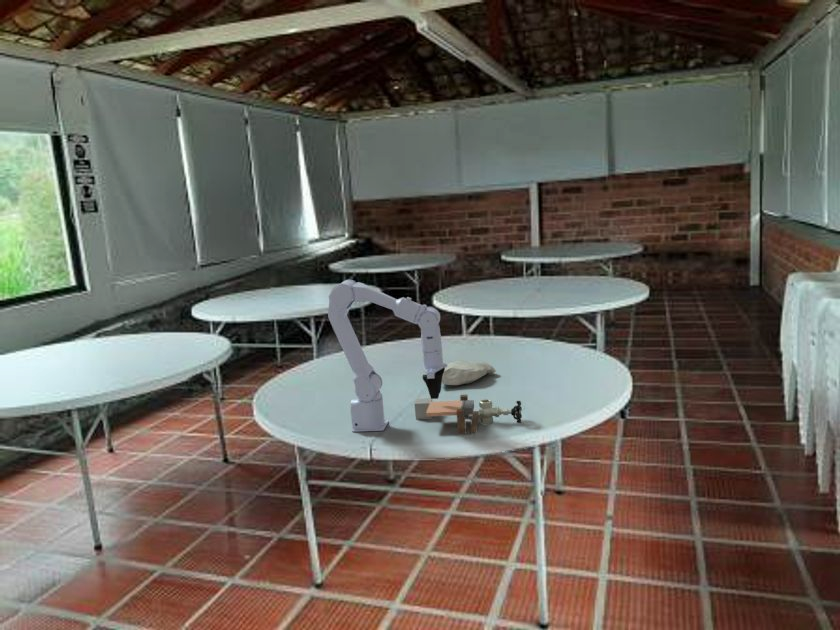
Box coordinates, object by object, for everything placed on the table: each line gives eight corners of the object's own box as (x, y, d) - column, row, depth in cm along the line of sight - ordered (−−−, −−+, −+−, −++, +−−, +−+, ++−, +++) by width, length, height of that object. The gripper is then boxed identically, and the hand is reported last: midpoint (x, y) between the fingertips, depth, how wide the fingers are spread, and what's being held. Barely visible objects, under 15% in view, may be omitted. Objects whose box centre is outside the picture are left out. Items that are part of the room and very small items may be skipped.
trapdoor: (426, 418, 187) (425, 411, 186) (430, 406, 196) (430, 400, 196) (472, 416, 185) (471, 409, 184) (474, 404, 194) (473, 398, 194)
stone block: (415, 419, 198) (414, 403, 197) (418, 414, 203) (416, 398, 202) (431, 419, 198) (430, 403, 197) (433, 413, 202) (432, 398, 201)
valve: (478, 426, 188) (520, 427, 185) (476, 404, 187) (518, 404, 184) (481, 418, 194) (522, 418, 191) (480, 397, 193) (521, 397, 190)
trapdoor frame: (458, 433, 183) (456, 411, 182) (462, 415, 198) (460, 394, 197) (476, 433, 183) (474, 410, 181) (478, 414, 197) (477, 394, 196)
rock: (500, 359, 239) (462, 367, 219) (500, 378, 239) (462, 389, 219) (456, 357, 250) (416, 365, 231) (457, 375, 251) (417, 385, 231)
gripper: (443, 355, 180) (447, 403, 182) (448, 343, 194) (451, 387, 197) (417, 357, 181) (422, 404, 184) (424, 344, 195) (428, 388, 198)
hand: (435, 395), depth 190 cm, fingers open, 4 cm apart
